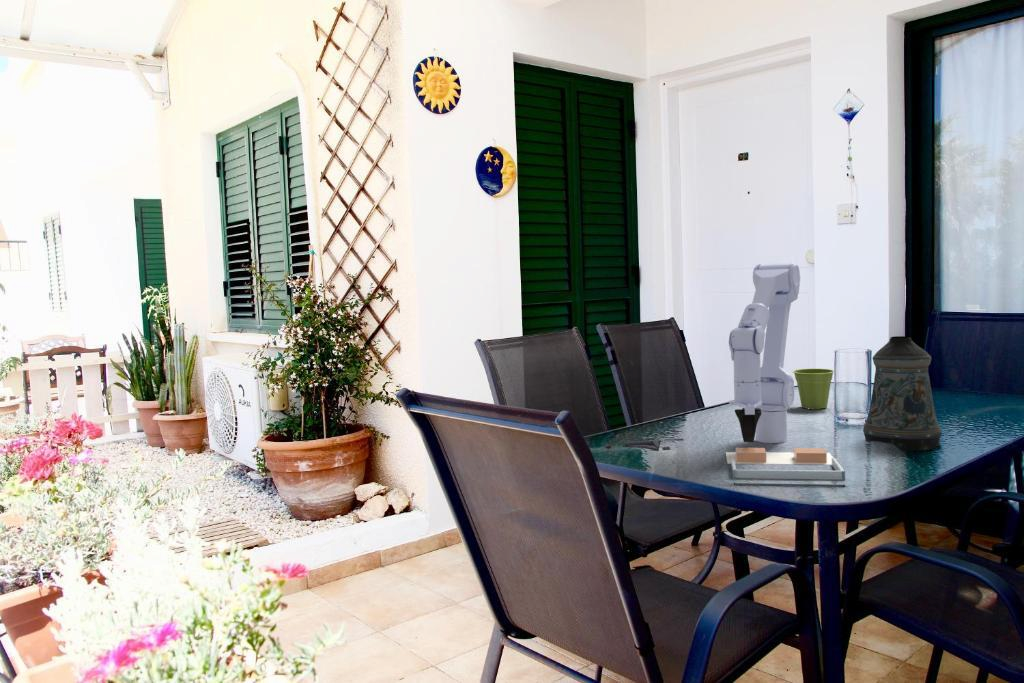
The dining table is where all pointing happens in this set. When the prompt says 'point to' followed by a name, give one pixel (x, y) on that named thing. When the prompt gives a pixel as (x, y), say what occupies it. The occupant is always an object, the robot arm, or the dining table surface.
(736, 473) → the tray
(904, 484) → the dining table surface
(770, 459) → the cream plate
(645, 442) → the bracket
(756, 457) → the terracotta tile
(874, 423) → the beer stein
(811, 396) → the plant pot
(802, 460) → the terracotta tile
